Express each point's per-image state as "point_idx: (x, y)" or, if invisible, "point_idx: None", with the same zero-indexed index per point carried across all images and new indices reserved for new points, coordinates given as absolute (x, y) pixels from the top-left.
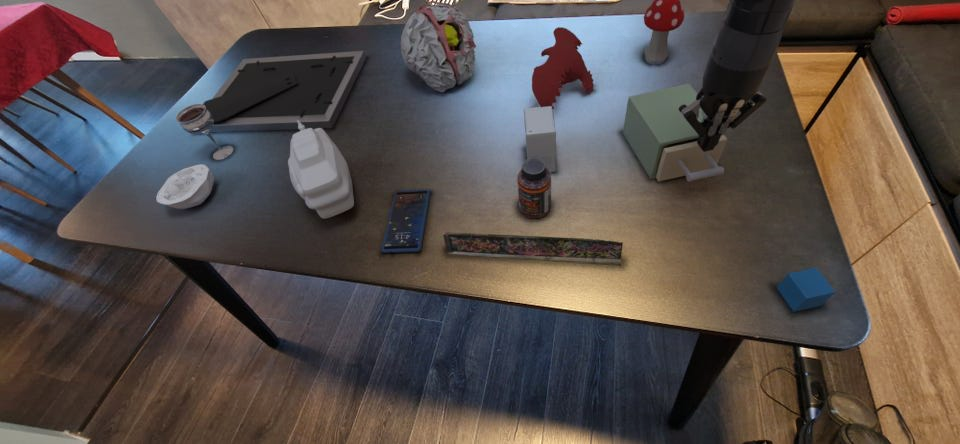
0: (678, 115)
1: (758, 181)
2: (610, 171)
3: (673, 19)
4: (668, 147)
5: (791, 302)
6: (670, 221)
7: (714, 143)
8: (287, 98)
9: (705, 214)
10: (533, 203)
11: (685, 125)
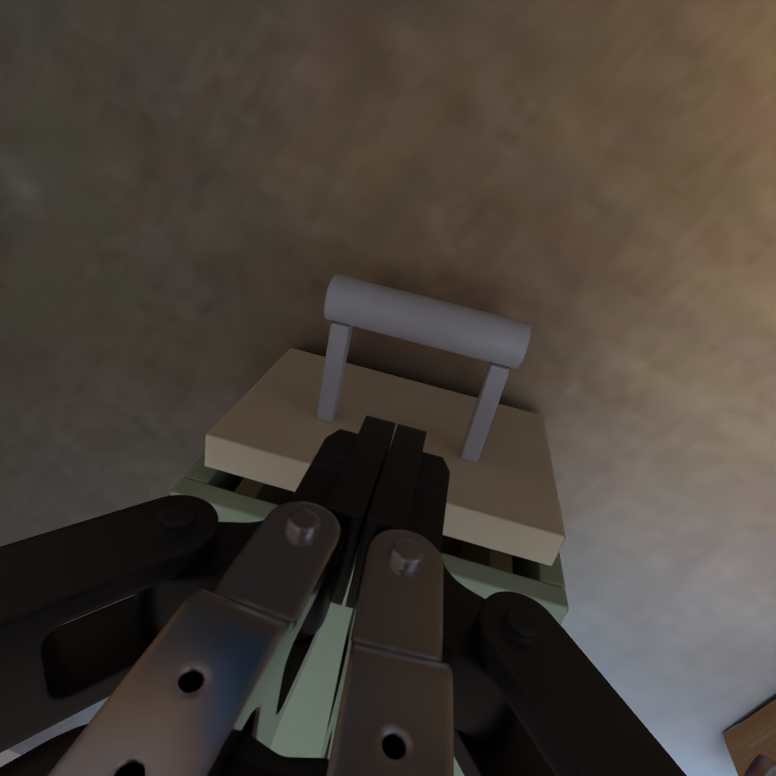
0: (332, 672)
1: (169, 207)
2: (642, 550)
3: None
4: (523, 557)
5: None
6: (665, 204)
7: (364, 451)
8: None
9: (491, 158)
10: None
11: (348, 616)
